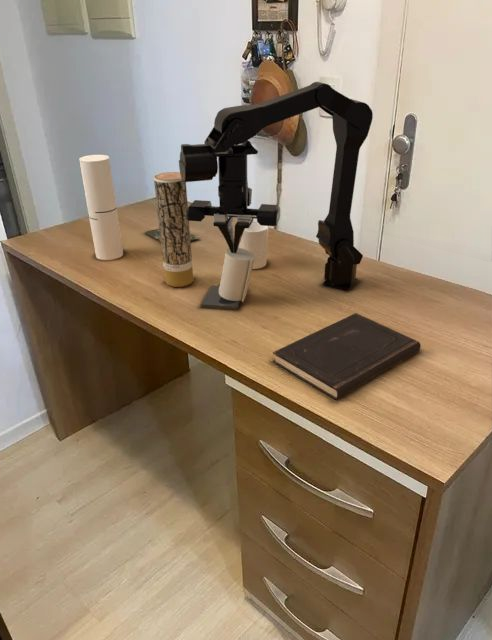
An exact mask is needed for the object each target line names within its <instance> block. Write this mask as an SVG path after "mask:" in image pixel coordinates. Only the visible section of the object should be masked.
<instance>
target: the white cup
mask: <svg viewBox="0 0 492 640" xmlns="http://www.w3.org/2000/svg"><path fill="white" fill-rule="evenodd" d="M269 227H270V226H262V225H260V224H259V223H258V222H257V220H253V222H252V224H251V226H250V227H249V228H245V230H244V232H243V234H242V237H241V241H240V244H239V247H238V248H242V249H245V250H248V251H249V252H251V253H252V254H253V255H254V253H255V258H254V263H253V268H252V270H258V269H262V268H265V267H266V266H267V263H268V262H267V261H268V253H269V250H268V249H269V229H270V228H269Z"/></svg>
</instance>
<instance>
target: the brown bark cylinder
mask: <svg viewBox="0 0 492 640" xmlns="http://www.w3.org/2000/svg"><path fill="white" fill-rule="evenodd" d="M153 181H154V182H153V183H154V193H155V201H156V211H157V219H158V229H159V230H160V239H161V241H160V247H161V248H160V249H161V258H162V266H163V275H164V281H165V283H166V285H167V286H170V287H173V288H182V287H183V288H184V287H187V286H189V285H191V284H192V283H193V282H194V268H193V253H192V243H191V241H192V240H191V241H190V235H191V229H190V221H188V220H187V214H186V211H187V208H188V207H189V205H188V204H189V203H188V202H189V201H188V191H187V182H183V181H182V179H181V175H180V171H179V172H178V171H168V172H167V171H166V172H161V173H157V174H155V175H154V176H153Z"/></svg>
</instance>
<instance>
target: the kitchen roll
mask: <svg viewBox="0 0 492 640" xmlns="http://www.w3.org/2000/svg"><path fill="white" fill-rule="evenodd" d="M254 258H255V253H254V255H253V254H252V253H251V252H249V251H248V250H245V249H242V248H238V250H237V252H236V253H234V252H233V253H231V251H230V249H229V248H227V249H225V254H224V260H223V265H222V270H221V274H220V275H221V276H220V282H219V285H218V286H219V295H220V296H221V297H223V298H224V299H227V300H230V301H240V300H241V301H240V302H241V303H244V301H245V299H246V296H247V294H248V290H249V285H250V281H251V276H252V271H253V269H252V268H253V263H254Z"/></svg>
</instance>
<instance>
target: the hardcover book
mask: <svg viewBox="0 0 492 640" xmlns="http://www.w3.org/2000/svg"><path fill="white" fill-rule="evenodd" d="M421 346H422V345H421V343H420V342H419V340H417V339H415V338H412V337H410V336H408V335H405V334H403V333H401V332H399V331H397V330H394V329H392V328H389V327H388V326H386V325H383V324H381V323H379V322H376V321H375V320H372V319H371V318H368V317H366V316H363V315H361V314H359V313H357V312H355V313H352V314H351V315H348V316H347V317H344V318H342V319H340V320H338V321H336V322H334V323H331V324H329V325H327V326H325V327H323V328H321V329H319V330H316V331H315V332H312V333H310V334H308V335H307V336H304V337H302V338H300V339H298V340H296V341H294V342H292V343H289V344H287V345H285V346H283V347H281V348H278V349H277V350H274V351H272V354H273V355H274V360H272V363H273V364H275V365H276V366H278V367H280V368H282V369H284V370H285V371H287V372H289V373H290V374H291V375H293V376H295V377H296V378H298V379H299V380H302V381H303V382H305V383H307V384H308V385H310V386H312V387H313V388H314V389H317V391H320V392H321V393H323V394H325V395H326V396H327V397H330V398H331V399H333V400H338V399H340V398H342V397H343V396H345V395H347V394H348V393H350V392H352V391H353V390H355V389H357V388H359V387H360V386H362V385H364V384H366V383H367V382H369V381H370V380H372V379H374V378H376V377H378V376H379V375H381V374H383V373H384V372H386V371H388V370H389V369H391V368H393V367H395V366H396V365H398V364H400V363H402V362H403V361H406V360H407V359H408V358H410V357H412V356H413V355H415V354H417V353H419V352H420V351H421Z"/></svg>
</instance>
